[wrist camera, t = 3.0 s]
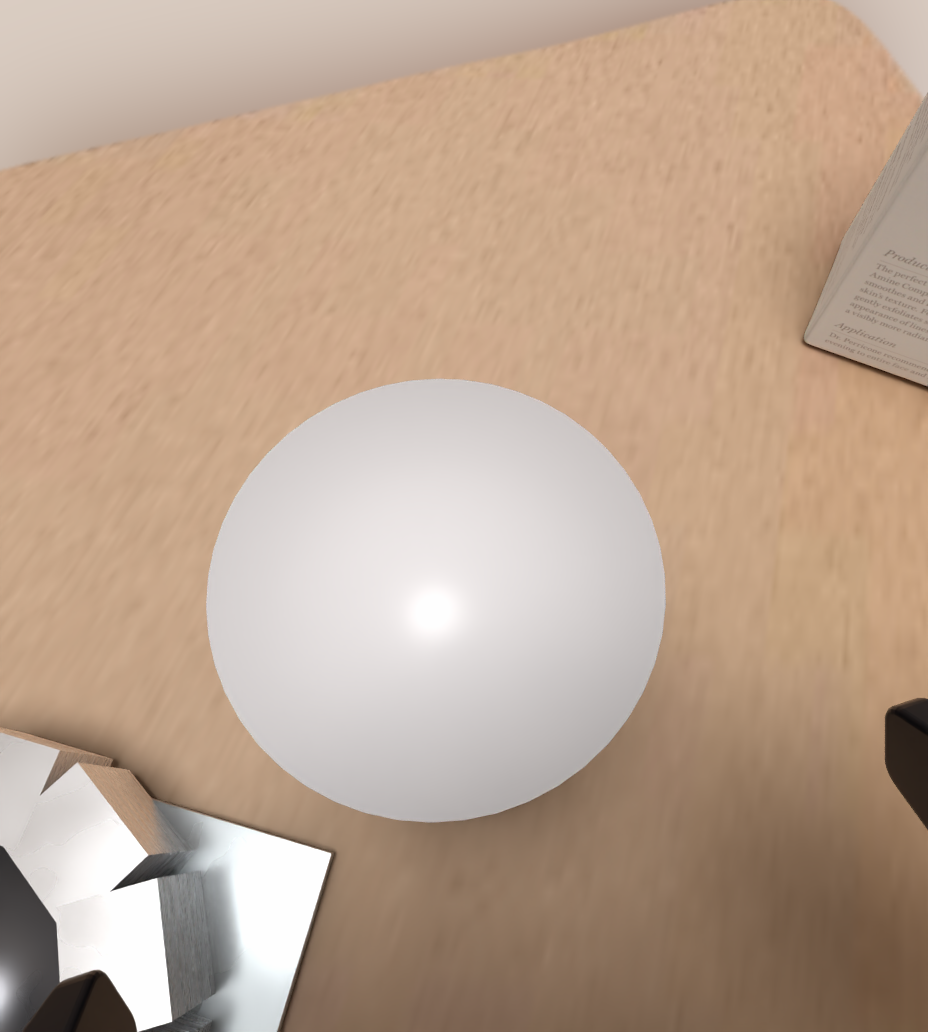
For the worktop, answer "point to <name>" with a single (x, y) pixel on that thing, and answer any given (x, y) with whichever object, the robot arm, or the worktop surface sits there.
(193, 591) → the worktop surface
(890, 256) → the skincare box
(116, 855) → the barrel ring
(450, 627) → the lens cylinder
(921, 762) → the robot arm
